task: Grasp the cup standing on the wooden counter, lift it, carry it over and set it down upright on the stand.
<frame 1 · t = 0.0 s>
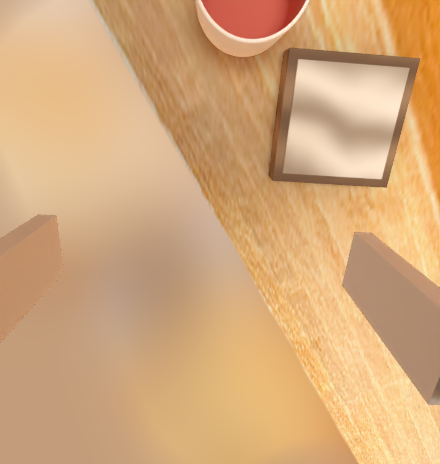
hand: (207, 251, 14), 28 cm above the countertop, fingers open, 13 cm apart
cup: (242, 7, 35), on the countertop
stand: (332, 121, 39), on the countertop
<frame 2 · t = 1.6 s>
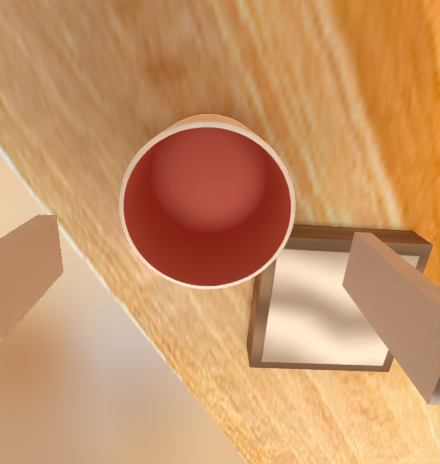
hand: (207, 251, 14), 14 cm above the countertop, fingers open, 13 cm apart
cup: (209, 175, 28), on the countertop
stand: (323, 292, 32), on the countertop
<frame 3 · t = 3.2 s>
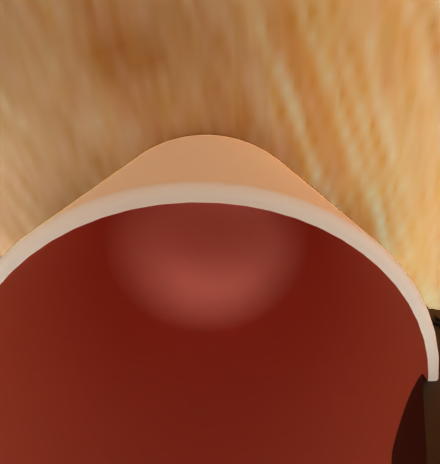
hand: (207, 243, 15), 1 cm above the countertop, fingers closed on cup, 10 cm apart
cup: (207, 235, 16), on the countertop, touching gripper
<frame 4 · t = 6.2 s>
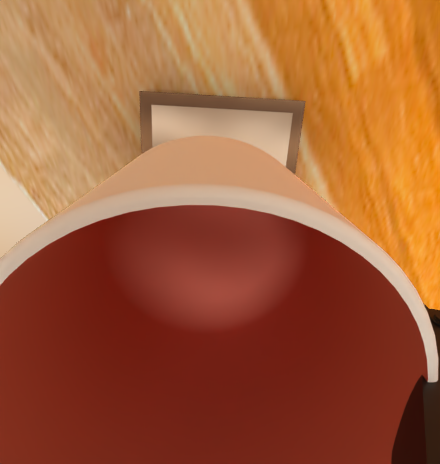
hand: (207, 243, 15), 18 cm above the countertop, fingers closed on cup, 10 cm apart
cup: (207, 235, 16), point 17 cm above the countertop, touching gripper
stand: (218, 171, 33), on the countertop
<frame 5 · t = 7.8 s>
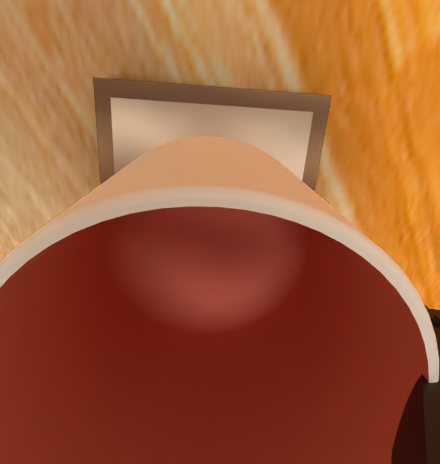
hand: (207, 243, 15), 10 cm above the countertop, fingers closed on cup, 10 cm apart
cup: (207, 236, 16), point 9 cm above the countertop, touching gripper
stand: (208, 190, 24), on the countertop
when the fingers open (6 cm above the countertop, at t = 9.1 s): cup drops 2 cm, resting on stand.
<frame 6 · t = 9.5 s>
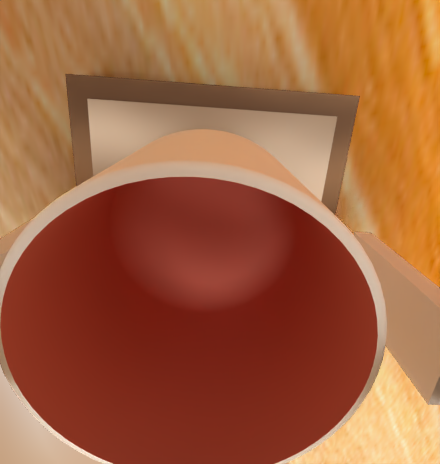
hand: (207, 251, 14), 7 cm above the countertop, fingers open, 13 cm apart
cup: (205, 222, 18), point 3 cm above the countertop, touching stand
stand: (208, 207, 21), on the countertop
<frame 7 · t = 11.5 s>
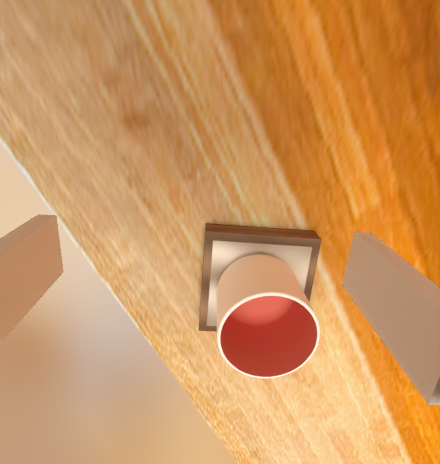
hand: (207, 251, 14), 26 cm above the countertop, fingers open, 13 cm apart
cup: (256, 286, 41), point 3 cm above the countertop, touching stand
stand: (254, 276, 44), on the countertop
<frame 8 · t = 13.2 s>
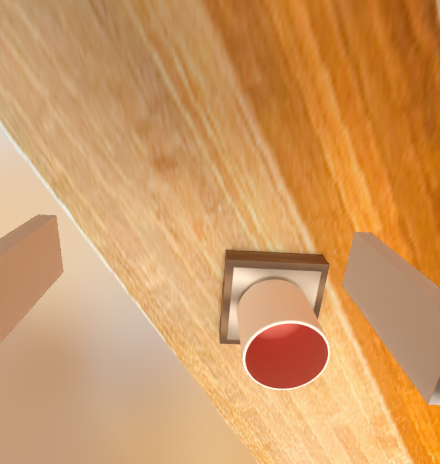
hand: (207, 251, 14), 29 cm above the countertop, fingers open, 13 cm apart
cup: (271, 305, 46), point 3 cm above the countertop, touching stand
stand: (268, 294, 49), on the countertop
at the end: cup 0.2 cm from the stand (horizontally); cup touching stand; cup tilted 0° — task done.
